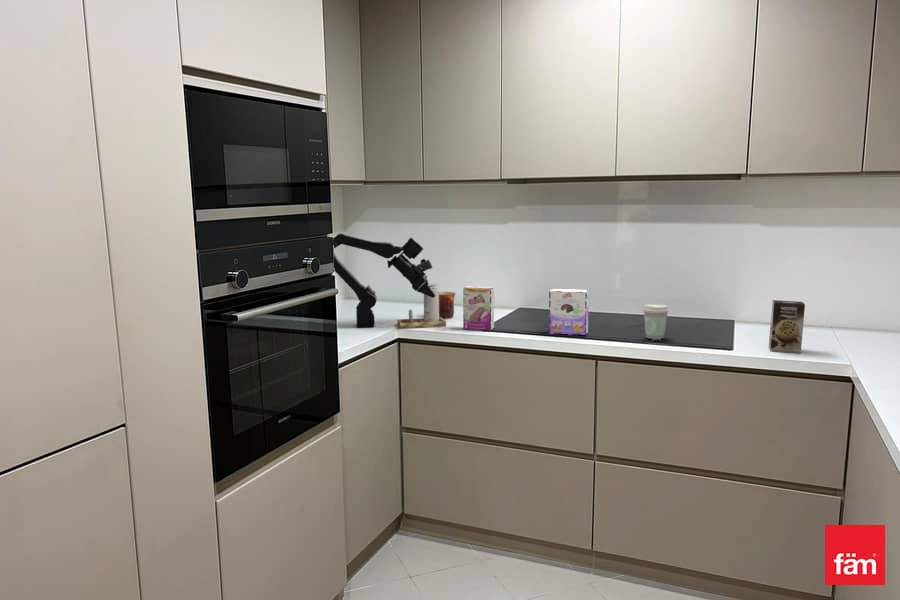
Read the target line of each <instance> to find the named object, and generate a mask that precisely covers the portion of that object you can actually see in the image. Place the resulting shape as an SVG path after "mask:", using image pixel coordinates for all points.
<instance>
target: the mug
mask: <svg viewBox="0 0 900 600" xmlns="http://www.w3.org/2000/svg"><path fill="white" fill-rule="evenodd" d="M455 296H456V292H454V291H439V317H442V318H445V319H446V318H447V319H452V318H453V317H454V315H455V298H456V297H455ZM445 319H444V320H445Z"/></svg>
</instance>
